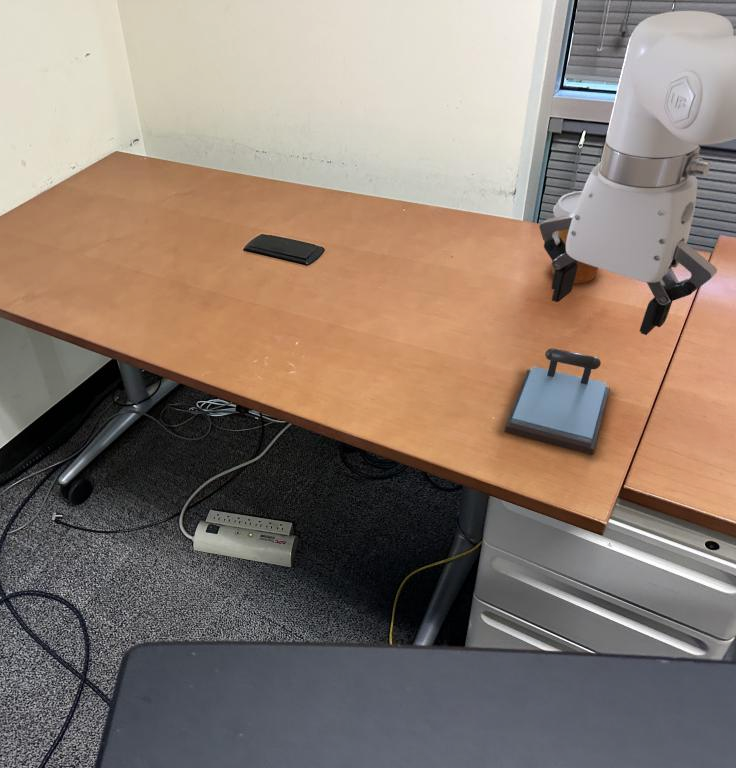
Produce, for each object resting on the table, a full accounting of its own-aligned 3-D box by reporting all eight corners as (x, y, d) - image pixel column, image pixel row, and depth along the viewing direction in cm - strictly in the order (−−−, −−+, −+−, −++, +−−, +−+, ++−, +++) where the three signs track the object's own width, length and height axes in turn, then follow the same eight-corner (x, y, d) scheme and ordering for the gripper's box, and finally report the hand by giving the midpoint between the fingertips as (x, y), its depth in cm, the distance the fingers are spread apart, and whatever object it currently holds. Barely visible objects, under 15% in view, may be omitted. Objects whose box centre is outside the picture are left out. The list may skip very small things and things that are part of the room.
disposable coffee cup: (617, 268, 109) (637, 198, 101) (589, 295, 104) (607, 224, 97) (558, 252, 115) (573, 184, 107) (529, 276, 110) (542, 208, 103)
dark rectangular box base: (526, 375, 93) (528, 364, 92) (608, 393, 88) (611, 382, 87) (504, 431, 85) (506, 421, 84) (592, 455, 81) (595, 444, 80)
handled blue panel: (531, 369, 92) (537, 341, 89) (606, 386, 88) (614, 357, 85) (511, 421, 85) (517, 393, 82) (591, 442, 81) (600, 412, 78)
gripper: (767, 168, 61) (704, 325, 71) (577, 130, 71) (547, 272, 82) (730, 200, 57) (670, 359, 68) (537, 155, 68) (512, 299, 79)
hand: (603, 311), depth 75 cm, fingers open, 9 cm apart
